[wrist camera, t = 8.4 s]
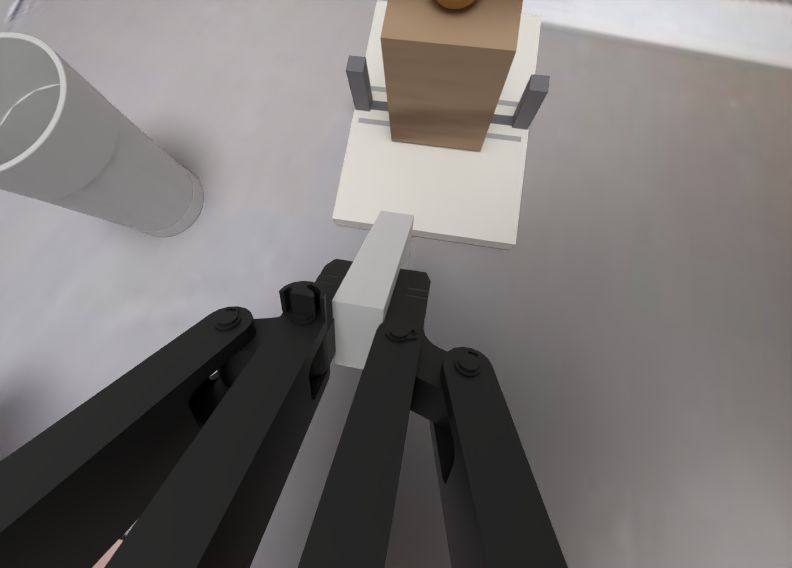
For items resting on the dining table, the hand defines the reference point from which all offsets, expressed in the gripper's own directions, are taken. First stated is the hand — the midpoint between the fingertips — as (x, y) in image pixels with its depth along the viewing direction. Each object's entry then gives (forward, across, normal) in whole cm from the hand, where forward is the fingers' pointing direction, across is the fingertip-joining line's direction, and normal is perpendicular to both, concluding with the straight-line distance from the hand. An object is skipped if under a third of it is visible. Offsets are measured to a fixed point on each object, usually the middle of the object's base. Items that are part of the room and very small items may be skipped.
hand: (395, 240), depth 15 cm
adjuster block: (+16, +1, +3) cm, 16 cm away
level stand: (+17, 0, +2) cm, 18 cm away
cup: (+10, -21, -5) cm, 24 cm away
